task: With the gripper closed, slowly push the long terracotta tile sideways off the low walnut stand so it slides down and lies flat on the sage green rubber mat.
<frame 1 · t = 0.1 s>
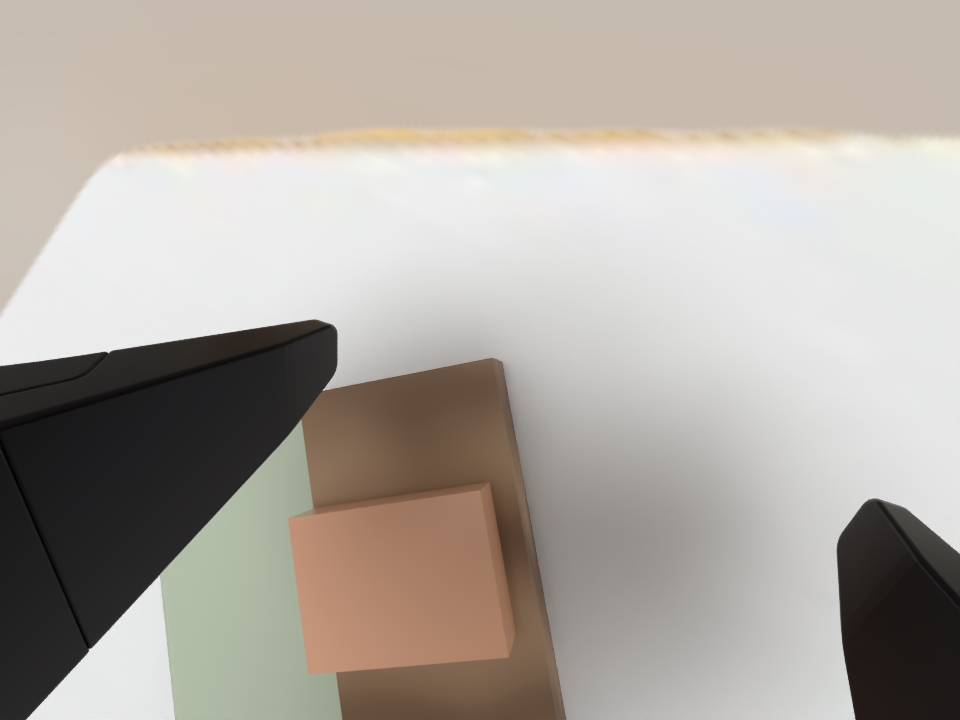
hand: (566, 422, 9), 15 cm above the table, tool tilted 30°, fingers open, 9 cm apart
terracotta tile: (409, 567, 22), point 2 cm above the table, touching walnut stand
green mat: (253, 572, 26), on the table
walnut stand: (437, 549, 24), on the table
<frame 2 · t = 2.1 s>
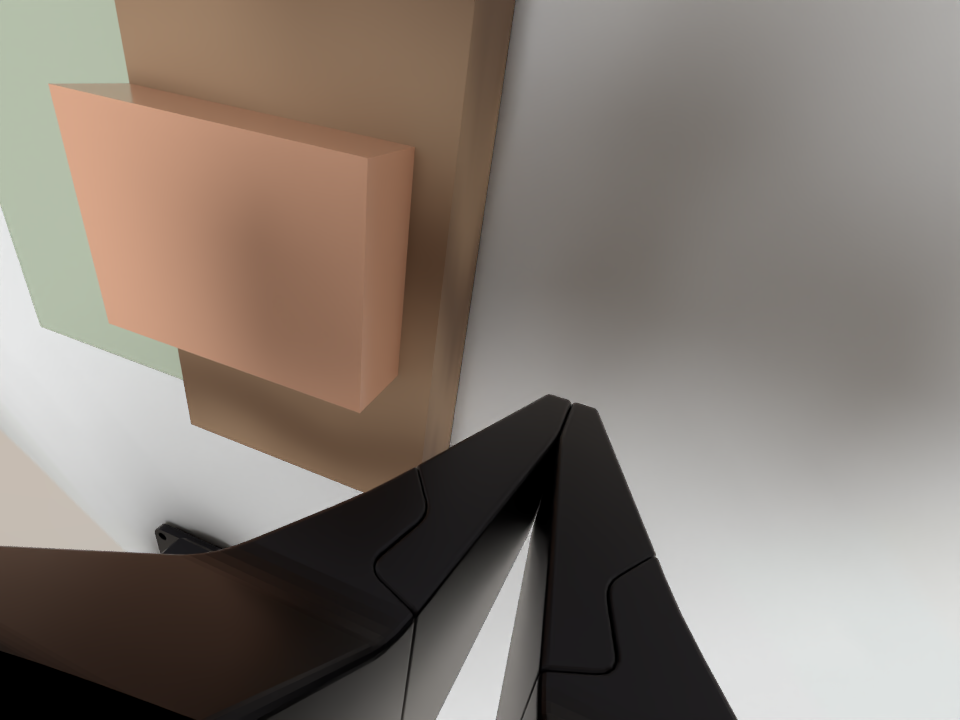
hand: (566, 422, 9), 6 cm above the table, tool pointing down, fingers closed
terracotta tile: (270, 236, 14), point 2 cm above the table, touching walnut stand
green mat: (94, 154, 18), on the table
walnut stand: (339, 219, 16), on the table
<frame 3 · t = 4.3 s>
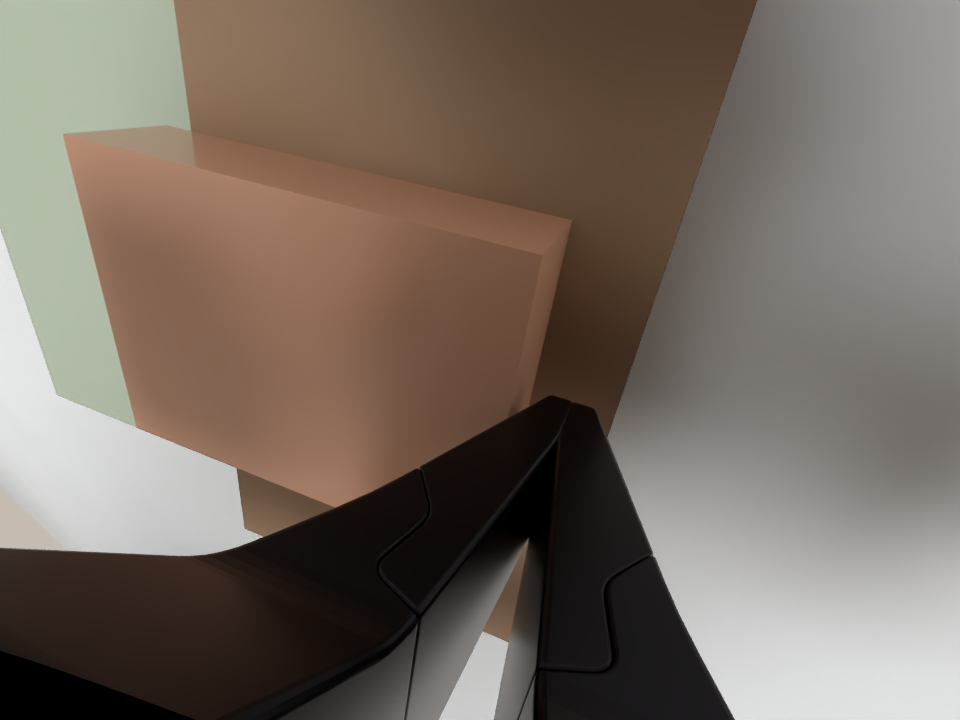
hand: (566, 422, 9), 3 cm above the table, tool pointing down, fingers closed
terracotta tile: (348, 320, 11), point 3 cm above the table, touching gripper, walnut stand
green mat: (128, 204, 15), on the table
walnut stand: (444, 293, 12), on the table
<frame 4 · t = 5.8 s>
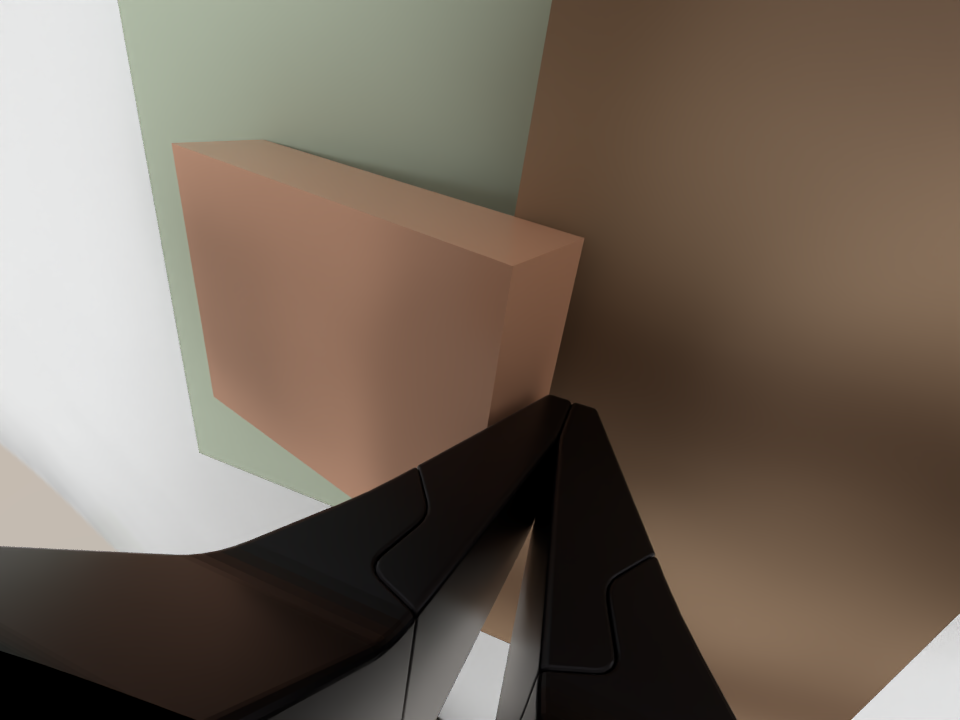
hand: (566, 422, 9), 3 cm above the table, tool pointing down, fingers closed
terracotta tile: (388, 322, 11), point 2 cm above the table, tilted 17°, touching green mat, gripper
green mat: (328, 261, 13), on the table
walnut stand: (724, 373, 11), on the table
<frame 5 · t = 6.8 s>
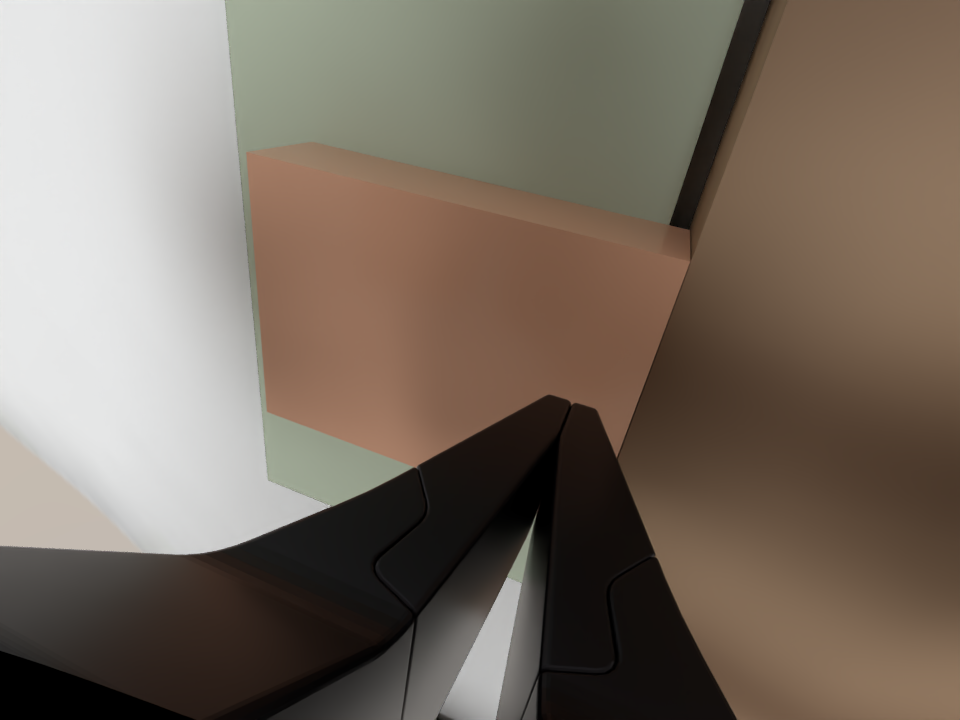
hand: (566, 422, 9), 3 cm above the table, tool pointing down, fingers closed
terracotta tile: (465, 316, 12), point 1 cm above the table, touching green mat
green mat: (429, 290, 13), on the table
walnut stand: (869, 416, 10), on the table
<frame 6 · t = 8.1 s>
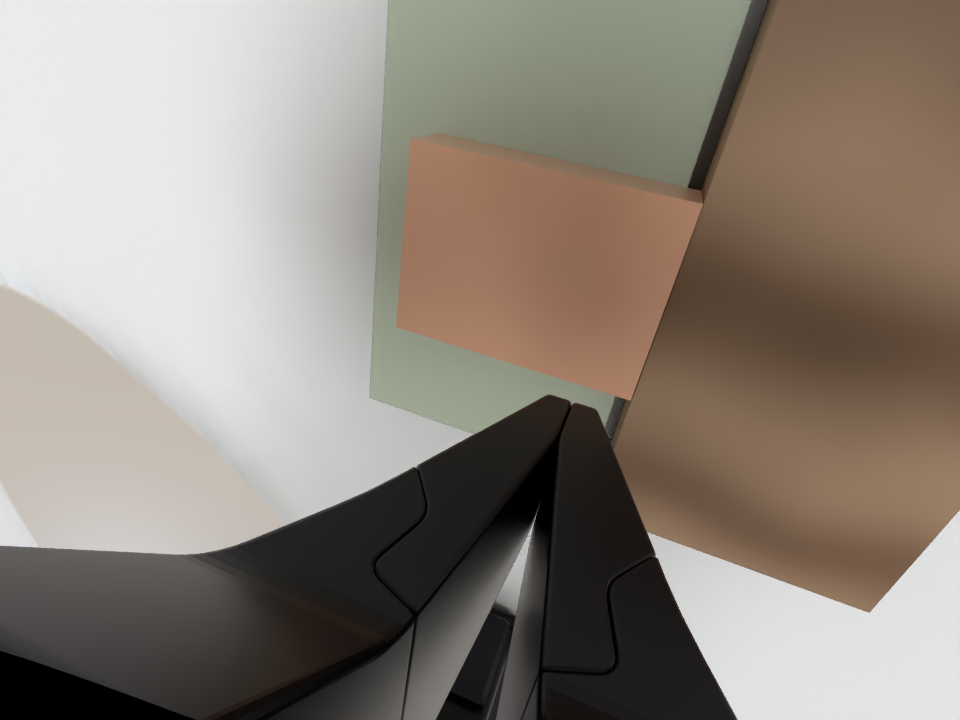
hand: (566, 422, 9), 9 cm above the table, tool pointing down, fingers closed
terracotta tile: (541, 256, 17), point 1 cm above the table, touching green mat
green mat: (513, 240, 18), on the table
walnut stand: (821, 319, 15), on the table
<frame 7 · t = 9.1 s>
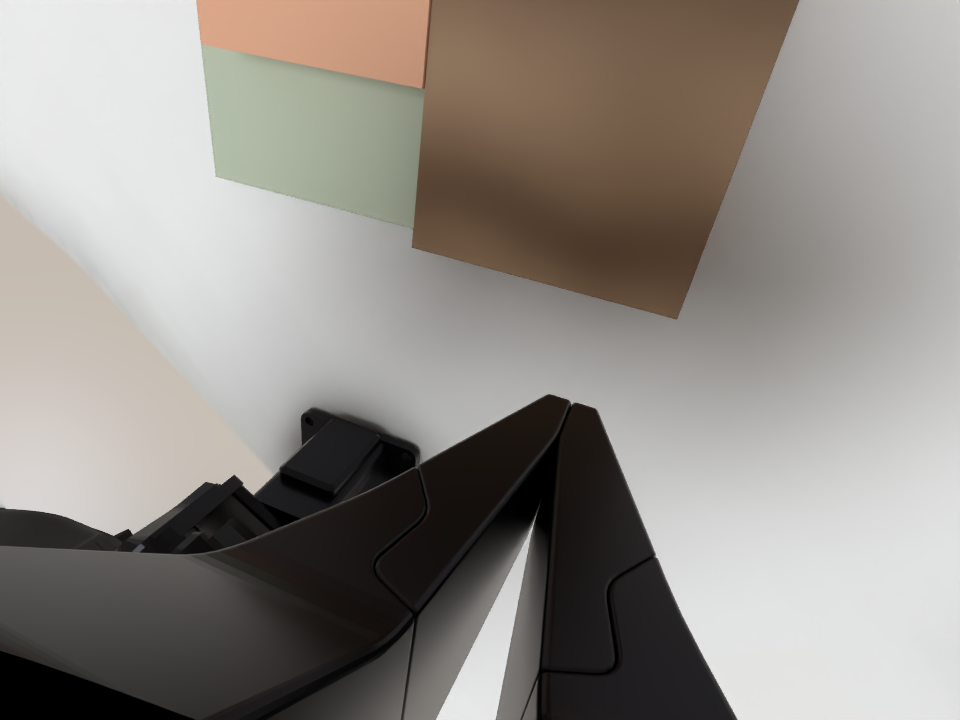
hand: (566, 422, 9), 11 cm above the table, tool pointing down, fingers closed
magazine: (48, 521, 45), on the table
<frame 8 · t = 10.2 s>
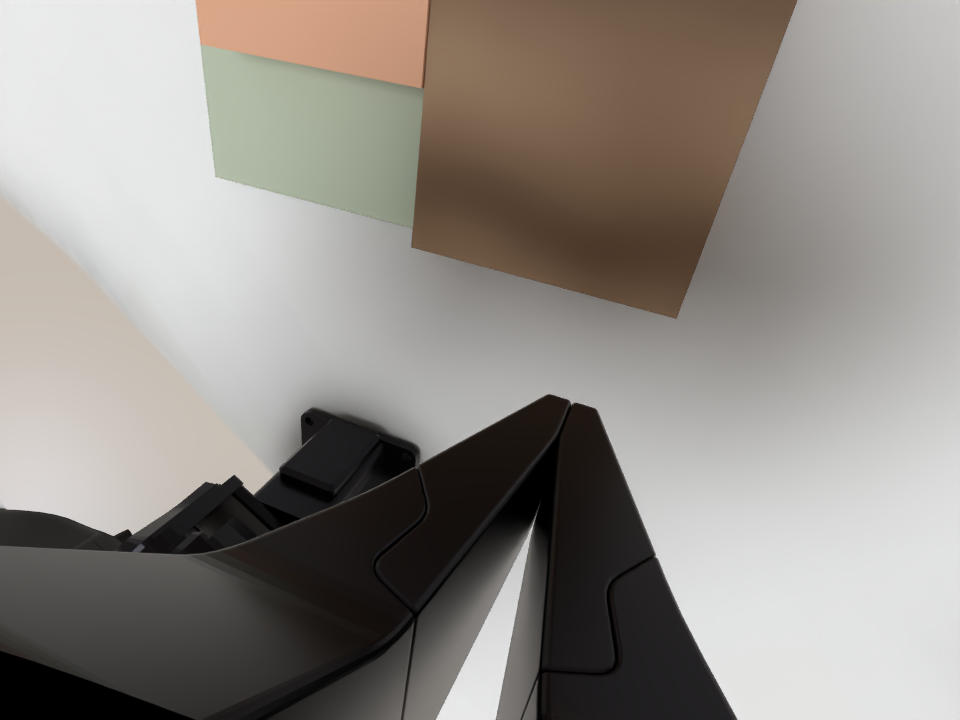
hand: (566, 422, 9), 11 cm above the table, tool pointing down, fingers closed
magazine: (48, 522, 45), on the table
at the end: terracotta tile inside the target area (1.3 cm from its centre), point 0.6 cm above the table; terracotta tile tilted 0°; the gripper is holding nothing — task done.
